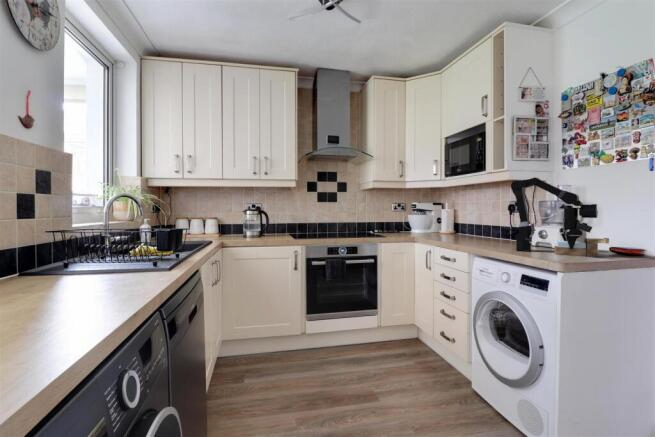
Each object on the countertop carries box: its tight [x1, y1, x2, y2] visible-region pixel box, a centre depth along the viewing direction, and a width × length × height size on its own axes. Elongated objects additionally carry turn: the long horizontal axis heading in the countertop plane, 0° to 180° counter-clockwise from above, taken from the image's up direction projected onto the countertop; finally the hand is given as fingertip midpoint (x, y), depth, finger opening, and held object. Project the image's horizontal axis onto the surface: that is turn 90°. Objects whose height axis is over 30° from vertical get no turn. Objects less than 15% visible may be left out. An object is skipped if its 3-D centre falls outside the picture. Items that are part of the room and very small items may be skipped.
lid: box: [554, 240, 586, 248], centre depth 159 cm, size 11×7×2 cm, turn 63°
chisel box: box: [554, 237, 599, 258], centre depth 158 cm, size 16×6×8 cm, turn 63°
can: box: [576, 230, 587, 242], centre depth 173 cm, size 8×8×12 cm
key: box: [586, 237, 610, 244], centre depth 154 cm, size 8×3×2 cm, turn 63°
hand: (569, 248), depth 159 cm, fingers closed on lid, 7 cm apart
